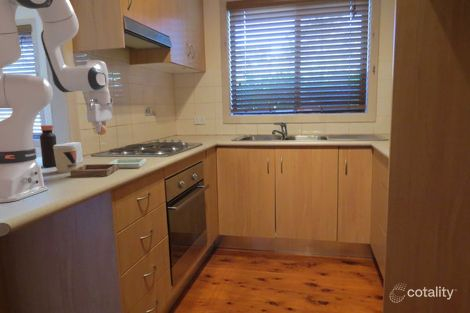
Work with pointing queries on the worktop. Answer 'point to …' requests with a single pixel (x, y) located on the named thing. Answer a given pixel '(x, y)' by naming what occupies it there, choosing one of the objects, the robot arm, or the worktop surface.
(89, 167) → the brown wooden tray
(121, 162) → the tray
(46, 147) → the bottle
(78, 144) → the small box
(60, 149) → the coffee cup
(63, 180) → the worktop surface
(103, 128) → the ball
